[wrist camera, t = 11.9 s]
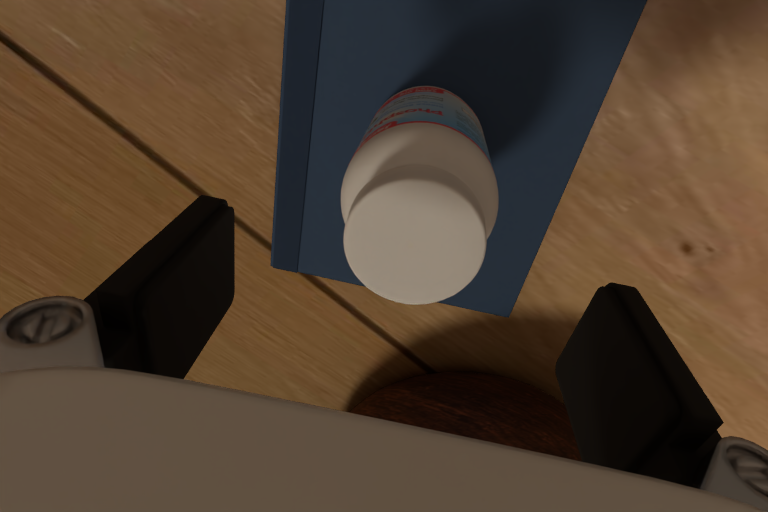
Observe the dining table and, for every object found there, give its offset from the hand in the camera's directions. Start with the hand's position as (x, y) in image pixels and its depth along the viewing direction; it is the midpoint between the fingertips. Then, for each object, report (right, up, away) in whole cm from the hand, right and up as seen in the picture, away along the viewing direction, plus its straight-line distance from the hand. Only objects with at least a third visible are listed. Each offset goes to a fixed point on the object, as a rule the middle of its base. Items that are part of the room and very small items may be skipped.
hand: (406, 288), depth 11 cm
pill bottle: (+2, +7, +12) cm, 14 cm away
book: (+2, +7, +13) cm, 15 cm away
